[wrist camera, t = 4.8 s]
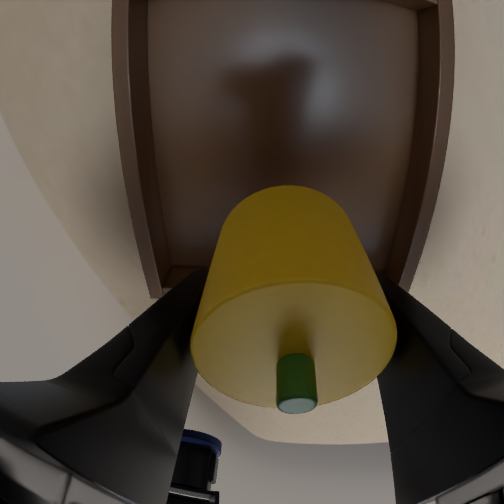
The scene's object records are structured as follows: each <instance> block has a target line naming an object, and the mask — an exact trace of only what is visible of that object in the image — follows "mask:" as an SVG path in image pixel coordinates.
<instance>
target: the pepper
mask: <svg viewBox="0 0 504 504" xmlns="http://www.w3.org/2000/svg"><path fill="white" fill-rule="evenodd" d="M396 343H397V327H396V322H395V319H394V317H393V314H392V312H391V309H390V307H389V304H388V302H387V300H386V297H385V295H384V292H383V290H382V288H381V285H380V283H379V281H378V279H377V276H376V274H375V272H374V270H373V267H372V265H371V263H370V261H369V259H368V256H367V254H366V252H365V250H364V248H363V246H362V244H361V242H360V240H359V238H358V236H357V234H356V231H355V229H354V227H353V225H352V223H351V222H350V220H349V218H348V216H347V214H346V213H345V212H344V210H343V209H342V208H341V207H340V206H339V205H338V204H337V203H336V202H335V201H334V200H333V199H331V198H330V197H328V196H327V195H325V194H323V193H321V192H319V191H316V190H314V189H311V188H307V187H302V186H293V185H285V186H276V187H270V188H267V189H264V190H261V191H258V192H256V193H254V194H252V195H250V196H249V197H247V198H245V199H244V200H243V201H241V202H240V203H239V204H238V205H237V206H236V207H235V208H234V209H233V210H232V211H231V212H230V214H229V215H228V217H227V218H226V220H225V222H224V224H223V226H222V229H221V232H220V236H219V239H218V242H217V246H216V249H215V252H214V256H213V259H212V263H211V266H210V269H209V273H208V276H207V280H206V283H205V287H204V290H203V294H202V297H201V301H200V305H199V308H198V312H197V316H196V319H195V323H194V327H193V330H192V334H191V338H190V352H191V357H192V360H193V363H194V365H195V367H196V369H197V371H198V372H199V373H200V375H201V376H202V377H203V378H204V379H205V380H206V381H207V382H208V383H209V384H210V385H211V386H213V387H214V388H215V389H217V390H218V391H220V392H222V393H223V394H225V395H227V396H229V397H231V398H234V399H236V400H239V401H242V402H245V403H248V404H252V405H256V406H262V407H269V408H278V409H279V410H280V411H282V412H285V413H290V414H300V413H305V412H308V411H311V410H313V409H314V408H315V407H316V406H317V405H322V404H326V403H330V402H333V401H336V400H339V399H341V398H344V397H346V396H348V395H350V394H352V393H354V392H356V391H358V390H360V389H361V388H363V387H364V386H366V385H367V384H369V383H370V382H371V381H372V380H374V379H375V378H376V377H377V376H378V375H379V374H380V373H381V372H382V371H383V370H384V368H385V367H386V366H387V364H388V363H389V361H390V360H391V358H392V356H393V353H394V351H395V347H396Z"/></svg>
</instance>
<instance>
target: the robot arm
mask: <svg viewBox="0 0 504 504" xmlns="http://www.w3.org/2000/svg"><path fill="white" fill-rule="evenodd" d="M208 273H209V268H196V269H195V270H194V271H192V272H191V273H190V274H189V275H188V276H186V277H185V278H184V279H183V280H181V281H180V282H179V283H178V284H177V285H175V286H174V287H173V288H172V289H171V290H169V291H168V292H167V293H166V294H165V295H163V296H162V297H161V298H160V299H159V300H158V301H156V302H155V303H154V304H153V305H152V306H150V307H149V308H148V309H147V310H146V311H144V312H143V313H142V314H141V315H140V316H139V317H137V318H136V319H135V320H134V321H133V322H132V323H130V324H129V326H127V327H126V328H124V329H123V330H122V331H121V332H120V333H119V334H117V335H116V336H115V337H114V338H112V339H111V340H110V341H109V342H107V343H106V344H105V345H103V346H102V347H101V348H99V349H98V350H97V351H95V352H94V353H92V354H91V355H90V356H88V357H87V358H85V359H84V360H82V361H81V362H80V363H78V364H77V365H76V366H74V367H72V368H71V369H70V370H69V371H67V372H65V373H64V374H62V375H61V376H59V377H57V378H54V379H51V380H45V381H30V382H0V504H219V491H210V489H211V484H215V483H216V476H217V468H218V457H217V455H216V454H215V453H214V450H213V448H212V446H209V445H201V444H193V443H186V442H180V441H181V437H182V433H183V429H184V424H185V421H186V417H187V412H188V408H189V405H190V400H191V397H192V392H193V389H194V385H195V381H196V377H197V373H198V371H197V369H196V367H195V365H194V363H193V360H192V357H191V352H190V338H191V334H192V330H193V327H194V323H195V319H196V316H197V312H198V308H199V305H200V301H201V297H202V294H203V290H204V287H205V283H206V280H207V276H208ZM375 274H376V276H377V279H378V281H379V283H380V285H381V288H382V290H383V292H384V295H385V297H386V300H387V302H388V304H389V307H390V309H391V312H392V314H393V317H394V319H395V322H396V327H397V343H396V347H395V351H394V353H393V356H392V358H391V360H390V361H389V363H388V364H387V366H386V367H385V368H384V370H383V371H382V372H381V373H380V374H379V375H378V376H377V379H378V384H379V389H380V394H381V399H382V404H383V410H384V415H385V421H386V427H387V433H388V439H389V446H390V452H391V462H392V469H393V478H394V487H395V498H396V504H426V503H429V502H432V501H435V503H436V504H504V369H503V368H501V367H500V366H499V365H497V364H496V363H495V362H493V361H492V360H491V359H489V358H488V357H487V356H485V355H484V354H483V353H481V352H480V351H479V350H478V349H476V348H475V347H474V346H472V345H471V344H470V343H469V342H467V341H466V340H465V339H464V338H462V337H461V336H460V335H459V334H458V333H457V332H455V331H454V330H453V329H451V328H450V327H449V326H448V325H447V324H446V323H445V322H443V321H442V320H441V319H440V318H439V317H437V316H436V315H435V314H434V313H433V312H431V311H430V310H429V309H428V308H426V307H425V306H424V305H423V304H421V303H420V302H419V301H418V300H416V299H415V298H414V297H413V296H411V295H410V294H409V293H408V292H406V291H405V290H404V289H402V288H401V287H400V286H399V285H397V284H396V283H395V282H393V281H392V280H391V279H390V278H388V277H387V276H386V275H384V274H383V273H382V272H375ZM169 491H171V492H176V493H180V494H186V495H190V496H196V497H202V498H207V499H209V500H205V499H199V498H193V497H188V496H183V495H179V494H174V493H170V492H169Z"/></svg>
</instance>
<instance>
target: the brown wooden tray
mask: <svg viewBox="0 0 504 504" xmlns="http://www.w3.org/2000/svg"><path fill="white" fill-rule="evenodd" d="M111 39H112V72H113V89H114V102H115V113H116V123H117V132H118V140H119V148H120V155H121V162H122V169H123V175H124V181H125V187H126V193H127V198H128V204H129V209H130V214H131V219H132V224H133V229H134V233H135V238H136V242H137V247H138V251H139V255H140V259H141V263H142V267H143V271H144V275H145V279H146V283H147V286H148V290H149V294H150V297H151V298H154V299H160V298H161V297H162V296H163V295H165V294H166V293H167V292H168V291H169V290H171V289H172V288H173V287H174V286H175V285H177V284H178V283H179V282H180V281H181V280H183V279H184V278H185V277H186V276H188V275H189V274H190V273H191V272H192V271H194V270H195V269H196V268H209V269H210V266H211V263H212V259H213V256H214V252H215V249H216V246H217V242H218V239H219V236H220V232H221V229H222V226H223V224H224V222H225V220H226V218H227V217H228V215H229V214H230V212H231V211H232V210H233V209H234V208H235V207H236V206H237V205H238V204H239V203H240V202H241V201H243V200H244V199H245V198H247V197H249V196H250V195H252V194H254V193H256V192H258V191H261V190H264V189H267V188H270V187H276V186H285V185H293V186H302V187H307V188H311V189H314V190H316V191H319V192H321V193H323V194H325V195H327V196H328V197H330V198H331V199H333V200H334V201H335V202H336V203H337V204H338V205H339V206H340V207H341V208H342V209H343V210H344V212H345V213H346V214H347V216H348V218H349V220H350V222H351V223H352V225H353V227H354V229H355V231H356V234H357V236H358V238H359V240H360V242H361V244H362V246H363V248H364V250H365V252H366V254H367V256H368V259H369V261H370V263H371V265H372V267H373V270H374V272H382V273H383V274H384V275H386V276H387V277H388V278H390V279H391V280H392V281H393V282H395V283H396V284H397V285H399V286H400V287H401V288H402V289H404V290H405V291H406V292H409V289H410V286H411V284H412V281H413V278H414V275H415V272H416V269H417V267H418V264H419V260H420V257H421V254H422V251H423V248H424V245H425V241H426V238H427V234H428V231H429V227H430V224H431V220H432V216H433V212H434V208H435V204H436V200H437V196H438V191H439V187H440V182H441V177H442V172H443V167H444V162H445V156H446V150H447V143H448V136H449V129H450V121H451V112H452V101H453V87H454V62H455V42H454V18H453V5H452V0H112V26H111Z"/></svg>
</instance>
